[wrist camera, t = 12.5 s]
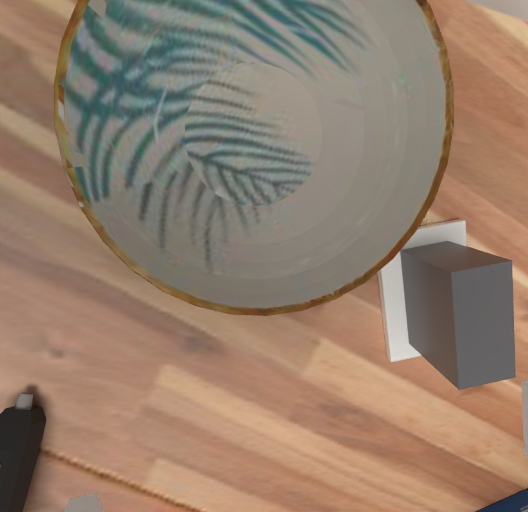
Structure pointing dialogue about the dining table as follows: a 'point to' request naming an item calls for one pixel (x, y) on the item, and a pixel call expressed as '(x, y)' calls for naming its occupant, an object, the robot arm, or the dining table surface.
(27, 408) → the gun
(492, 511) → the protein box
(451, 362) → the block
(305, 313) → the dining table surface
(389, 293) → the white peg board
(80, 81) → the bowl
